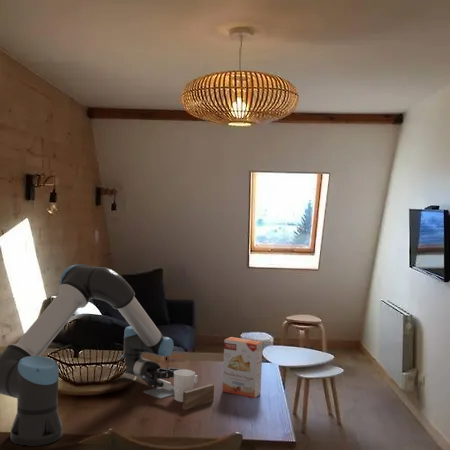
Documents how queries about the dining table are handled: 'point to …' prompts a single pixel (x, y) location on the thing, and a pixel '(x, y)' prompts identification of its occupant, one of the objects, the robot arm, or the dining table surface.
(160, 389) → the front mat
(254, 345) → the cracker box
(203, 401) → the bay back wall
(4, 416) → the dining table surface
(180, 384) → the white cup
